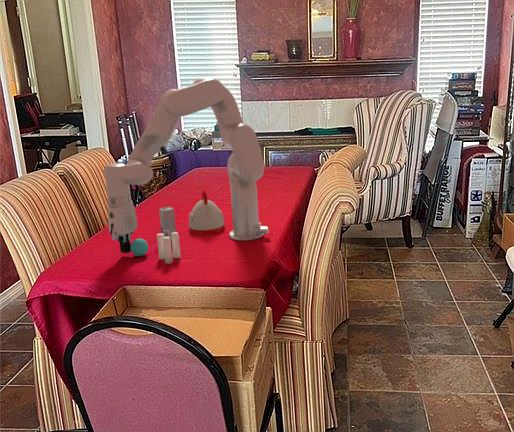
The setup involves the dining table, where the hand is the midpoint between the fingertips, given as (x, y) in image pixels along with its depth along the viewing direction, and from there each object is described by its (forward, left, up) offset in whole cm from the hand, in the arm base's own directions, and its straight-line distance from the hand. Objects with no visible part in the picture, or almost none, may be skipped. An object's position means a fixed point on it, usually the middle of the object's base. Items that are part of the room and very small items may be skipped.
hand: (125, 251), depth 191 cm
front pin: (-14, -2, -2) cm, 14 cm away
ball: (-5, -2, +2) cm, 5 cm away
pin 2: (-18, -4, -2) cm, 18 cm away
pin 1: (-18, +1, -2) cm, 18 cm away
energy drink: (-5, -20, -2) cm, 20 cm away
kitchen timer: (-12, -36, -2) cm, 37 cm away
